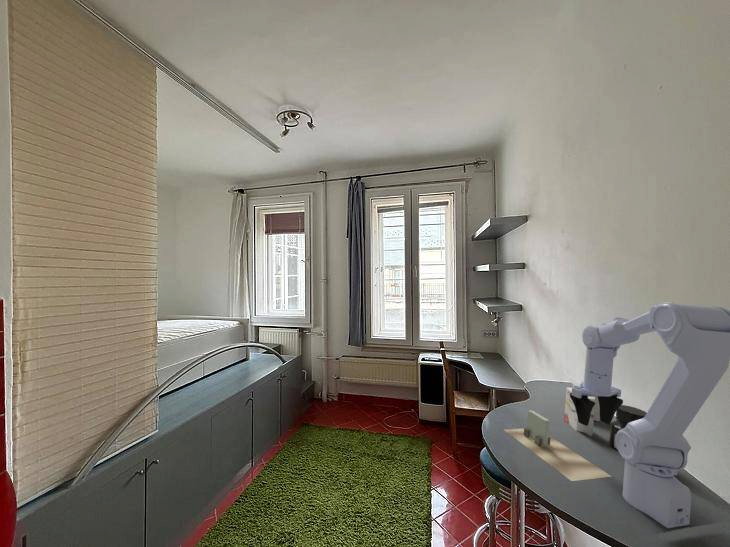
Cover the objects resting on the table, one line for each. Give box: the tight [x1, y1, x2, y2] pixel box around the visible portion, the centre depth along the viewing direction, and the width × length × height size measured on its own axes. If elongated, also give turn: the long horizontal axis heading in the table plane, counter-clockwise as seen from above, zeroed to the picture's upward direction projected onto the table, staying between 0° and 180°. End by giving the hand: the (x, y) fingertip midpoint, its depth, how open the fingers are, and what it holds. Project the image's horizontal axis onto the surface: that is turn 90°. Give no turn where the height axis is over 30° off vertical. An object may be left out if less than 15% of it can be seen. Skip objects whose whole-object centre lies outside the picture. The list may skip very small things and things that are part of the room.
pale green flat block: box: [526, 409, 550, 446], centre depth 84 cm, size 6×2×7 cm, turn 14°
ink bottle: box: [608, 404, 647, 452], centre depth 83 cm, size 10×9×12 cm
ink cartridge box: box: [563, 380, 595, 437], centre depth 95 cm, size 9×5×15 cm, turn 168°
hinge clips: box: [523, 427, 551, 446], centre depth 84 cm, size 6×4×2 cm
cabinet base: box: [504, 427, 613, 482], centre depth 79 cm, size 22×12×1 cm, turn 14°
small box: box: [572, 381, 601, 422], centre depth 106 cm, size 8×6×10 cm
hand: (594, 423), depth 78 cm, fingers open, 7 cm apart
